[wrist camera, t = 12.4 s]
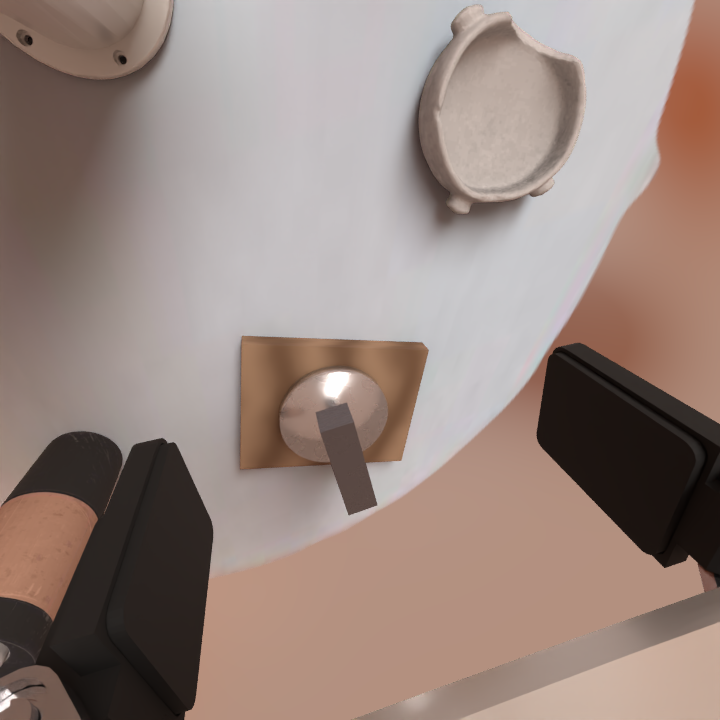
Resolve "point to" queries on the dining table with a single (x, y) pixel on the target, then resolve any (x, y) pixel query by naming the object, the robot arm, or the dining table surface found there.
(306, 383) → the door handle
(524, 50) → the dish
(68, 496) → the travel mug
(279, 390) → the dial stand
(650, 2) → the dining table surface
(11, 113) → the dining table surface
